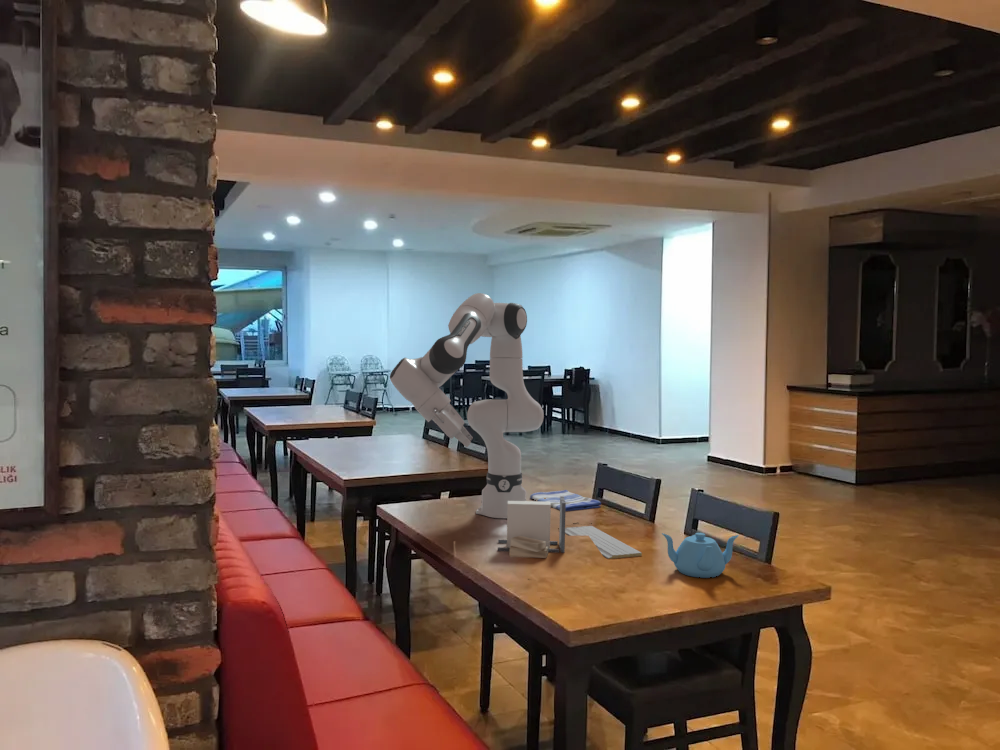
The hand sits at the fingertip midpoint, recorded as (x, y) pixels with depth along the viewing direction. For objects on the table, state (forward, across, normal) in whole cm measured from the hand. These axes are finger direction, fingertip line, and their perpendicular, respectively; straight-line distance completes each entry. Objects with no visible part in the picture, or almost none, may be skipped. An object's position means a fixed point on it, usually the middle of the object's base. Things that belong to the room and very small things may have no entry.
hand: (470, 442), depth 216 cm
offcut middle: (+33, -7, +9) cm, 35 cm away
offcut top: (+31, -7, +8) cm, 33 cm away
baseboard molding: (+49, +11, -4) cm, 50 cm away
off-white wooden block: (+34, 0, +10) cm, 35 cm away
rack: (+34, 0, +10) cm, 35 cm away
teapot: (+65, -16, -22) cm, 70 cm away
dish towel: (+44, +64, 0) cm, 78 cm away
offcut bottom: (+34, -7, +10) cm, 36 cm away
